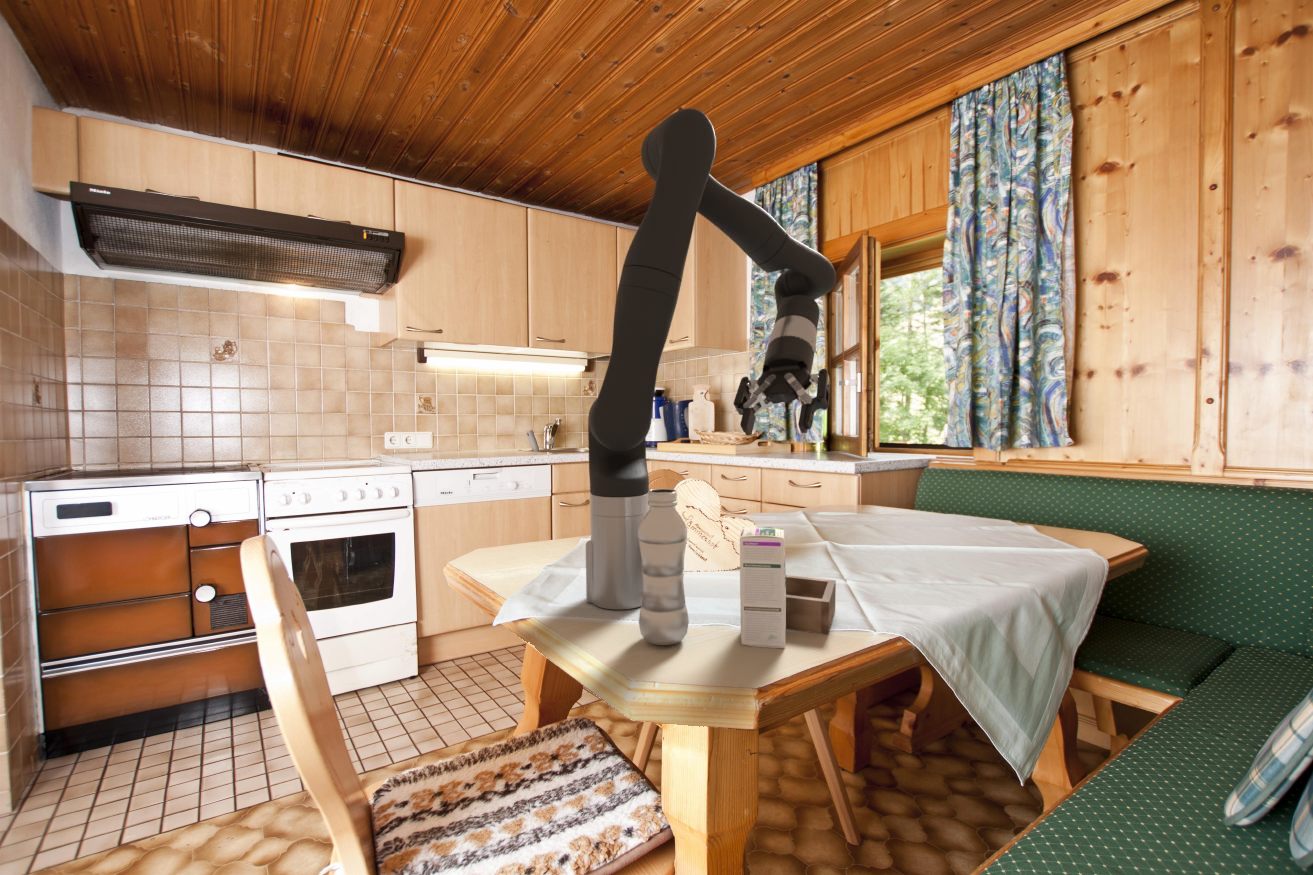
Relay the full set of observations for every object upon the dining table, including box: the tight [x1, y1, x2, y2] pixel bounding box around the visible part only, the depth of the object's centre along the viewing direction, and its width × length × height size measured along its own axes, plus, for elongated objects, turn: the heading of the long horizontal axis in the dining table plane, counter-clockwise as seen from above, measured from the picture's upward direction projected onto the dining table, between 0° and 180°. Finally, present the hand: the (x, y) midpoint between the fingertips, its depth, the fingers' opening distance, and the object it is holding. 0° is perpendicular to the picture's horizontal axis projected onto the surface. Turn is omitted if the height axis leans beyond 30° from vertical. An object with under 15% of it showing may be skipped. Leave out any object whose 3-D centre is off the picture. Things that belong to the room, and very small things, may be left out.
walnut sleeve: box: [786, 574, 837, 636], centre depth 85 cm, size 10×10×4 cm
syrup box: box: [739, 526, 787, 649], centre depth 77 cm, size 6×6×14 cm
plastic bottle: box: [638, 488, 690, 646], centre depth 76 cm, size 6×7×20 cm
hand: (774, 431), depth 85 cm, fingers open, 8 cm apart
